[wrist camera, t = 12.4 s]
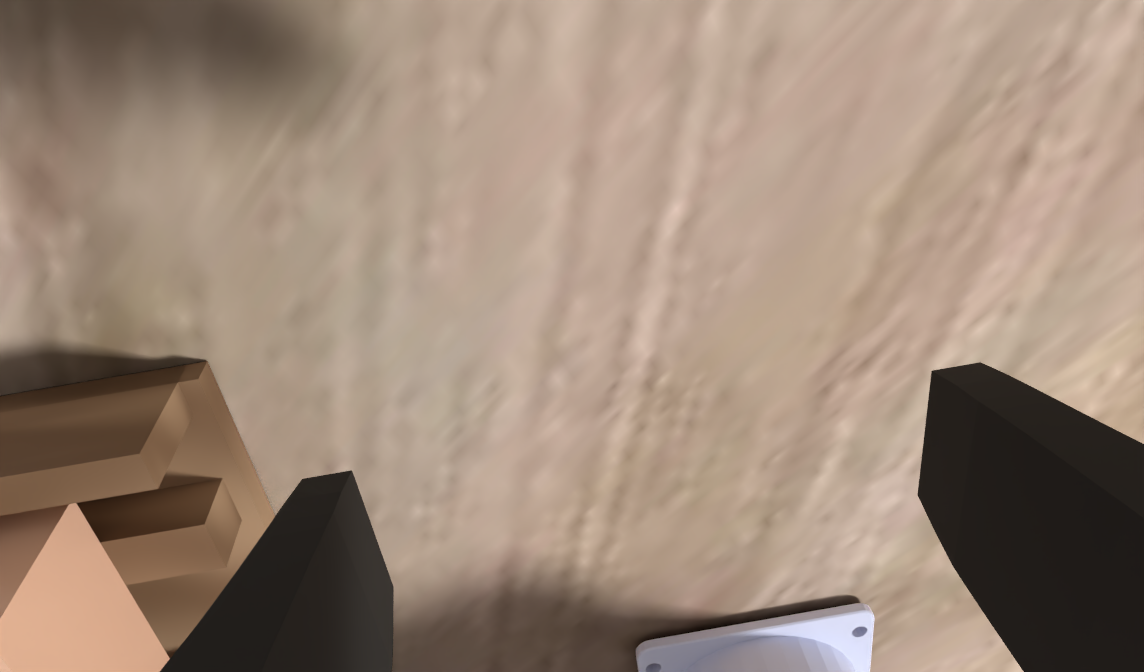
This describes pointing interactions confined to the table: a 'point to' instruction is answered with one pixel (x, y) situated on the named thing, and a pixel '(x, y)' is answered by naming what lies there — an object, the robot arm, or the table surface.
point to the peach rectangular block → (67, 600)
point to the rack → (142, 482)
